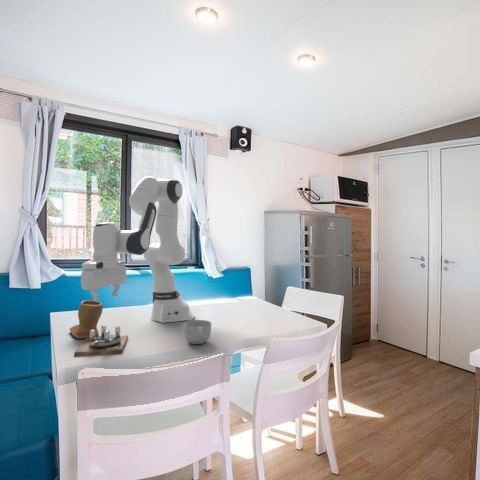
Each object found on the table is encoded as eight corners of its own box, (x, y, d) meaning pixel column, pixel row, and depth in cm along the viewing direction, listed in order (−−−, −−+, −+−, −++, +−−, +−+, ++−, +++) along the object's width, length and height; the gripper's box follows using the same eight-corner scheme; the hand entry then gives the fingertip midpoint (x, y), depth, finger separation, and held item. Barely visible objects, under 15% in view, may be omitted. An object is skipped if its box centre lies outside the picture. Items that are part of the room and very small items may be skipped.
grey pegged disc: (118, 337, 133) (117, 323, 133) (123, 344, 123) (123, 330, 123) (87, 341, 128) (87, 327, 127) (90, 350, 118) (90, 334, 118)
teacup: (185, 338, 137) (185, 319, 137) (211, 337, 138) (211, 318, 138) (182, 349, 123) (182, 328, 123) (211, 348, 124) (211, 327, 124)
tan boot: (106, 337, 139) (105, 301, 139) (75, 342, 132) (74, 305, 132) (97, 329, 152) (97, 296, 151) (69, 333, 145) (68, 299, 145)
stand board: (127, 339, 136) (127, 334, 136) (121, 353, 120) (121, 348, 119) (86, 341, 133) (86, 337, 133) (74, 356, 116) (74, 351, 116)
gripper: (118, 260, 141) (119, 293, 141) (77, 264, 122) (78, 302, 122) (130, 261, 138) (130, 294, 138) (90, 265, 119) (90, 303, 119)
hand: (105, 297), depth 130 cm, fingers open, 8 cm apart
